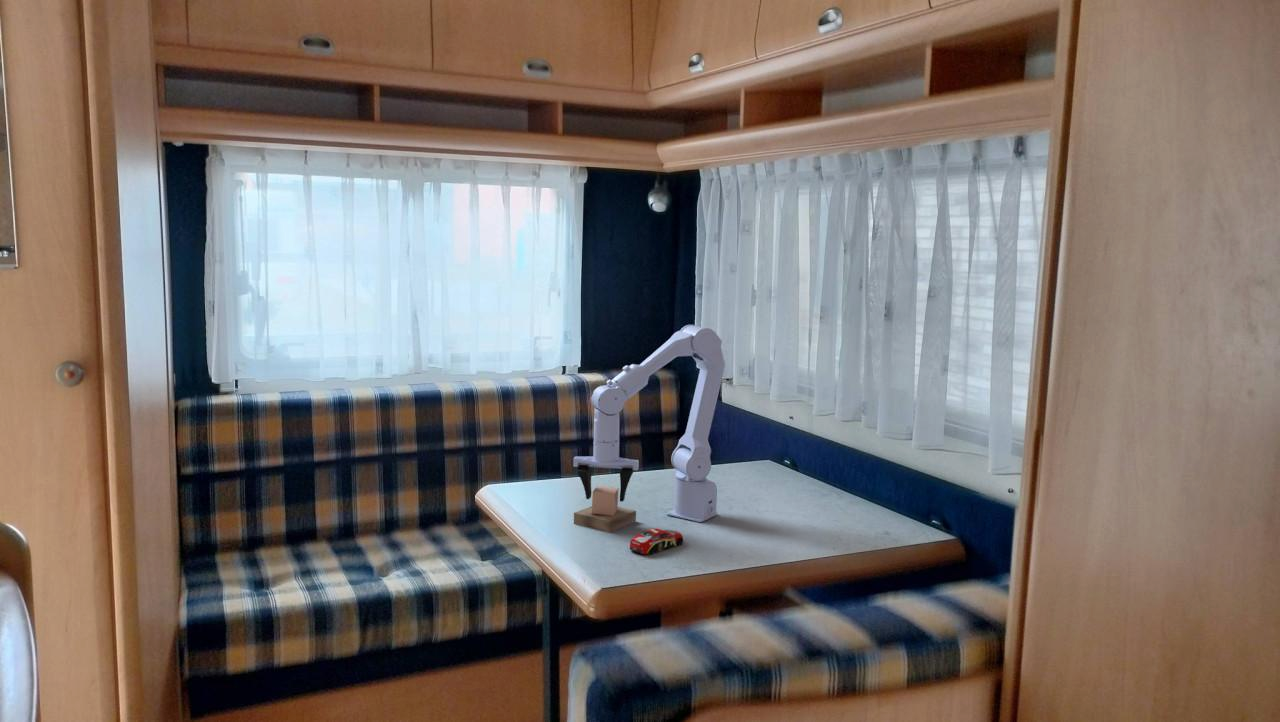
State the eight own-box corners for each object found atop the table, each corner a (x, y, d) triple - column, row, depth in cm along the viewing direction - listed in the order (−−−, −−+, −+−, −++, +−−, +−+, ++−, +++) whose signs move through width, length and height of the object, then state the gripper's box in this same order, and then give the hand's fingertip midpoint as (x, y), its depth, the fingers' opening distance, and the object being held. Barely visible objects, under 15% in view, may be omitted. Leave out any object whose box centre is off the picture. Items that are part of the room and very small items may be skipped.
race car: (669, 538, 199) (670, 520, 199) (688, 545, 196) (688, 526, 195) (624, 551, 190) (625, 532, 190) (643, 558, 187) (643, 539, 186)
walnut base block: (635, 523, 210) (636, 510, 209) (609, 534, 202) (609, 521, 201) (600, 515, 215) (600, 503, 215) (573, 525, 207) (573, 512, 207)
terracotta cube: (617, 509, 210) (618, 488, 210) (613, 515, 205) (614, 493, 205) (596, 507, 211) (597, 486, 210) (591, 513, 206) (592, 491, 205)
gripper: (641, 437, 209) (640, 496, 210) (578, 434, 211) (577, 492, 213) (636, 444, 202) (634, 505, 204) (571, 441, 204) (570, 500, 206)
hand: (605, 499), depth 208 cm, fingers open, 7 cm apart
